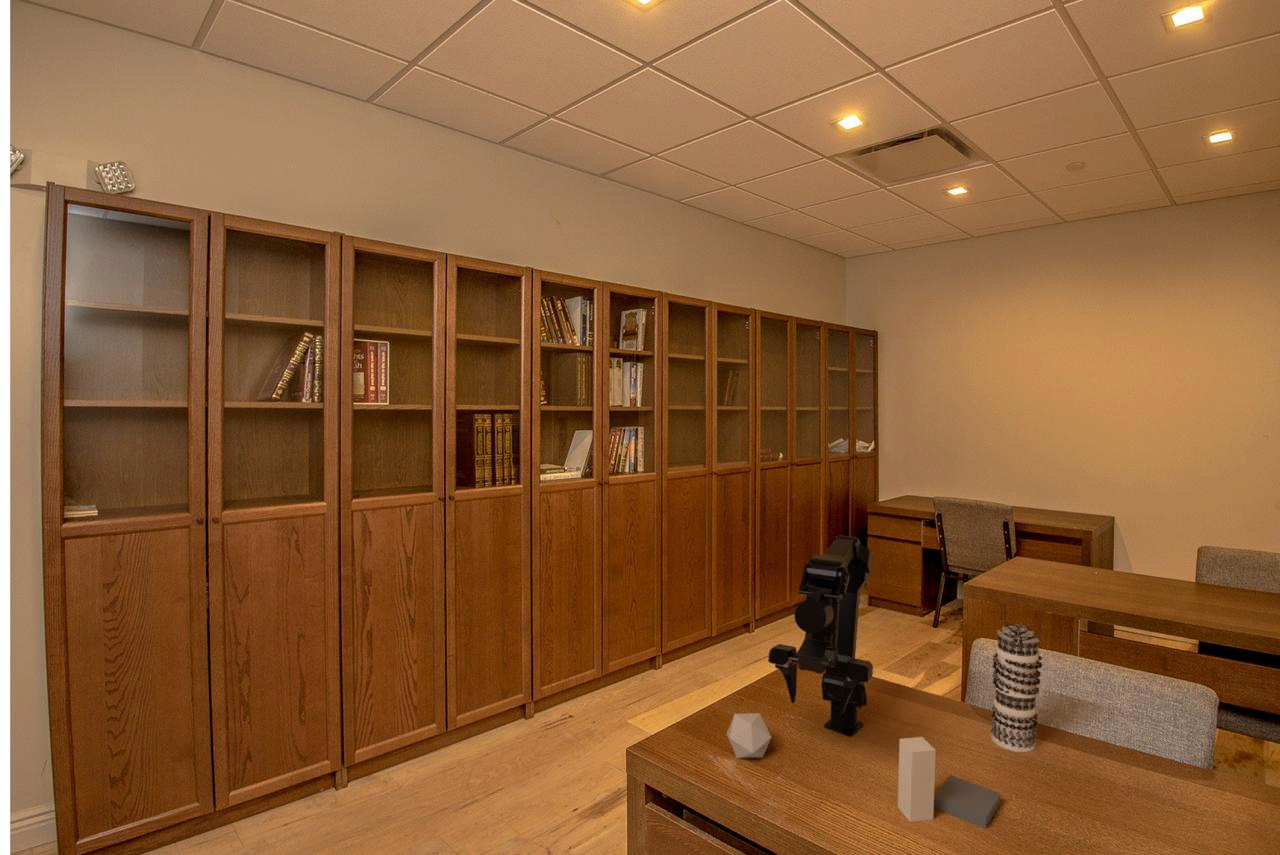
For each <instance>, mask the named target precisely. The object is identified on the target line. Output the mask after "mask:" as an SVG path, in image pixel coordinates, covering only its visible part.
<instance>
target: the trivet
mask: <svg viewBox="0 0 1280 855" xmlns="http://www.w3.org/2000/svg"><path fill="white" fill-rule="evenodd" d="M1001 796H1002V793H1001V792H998V791H995V790H993V789H990V788H987V787H985V786H981V785H979V784H976V783H974V782H972V781H970V780H969V781H968V780H966V779H963V778H961V777H957V776H956V775H953V774H949V776H947V778H946V779H945V781H944V782H943V783H942V785H940V787H939V789H938V790H936V792H935V793H934V809H937V810H940V811H942V812H945V813H947V814H950V815H952V816H955V817H957V818H959V819H962V820H964V821H967V822H970V823H972V824H974V825H977V826H979V827H981V828H984V829H987V827H988V825H989V824H990V822H991V820H992V818H993V817H994V815H995V813H996V812H997V810H998V808H999V807H1000V806H1001V804H1002V803H1001V800H1002V797H1001Z"/></svg>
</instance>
